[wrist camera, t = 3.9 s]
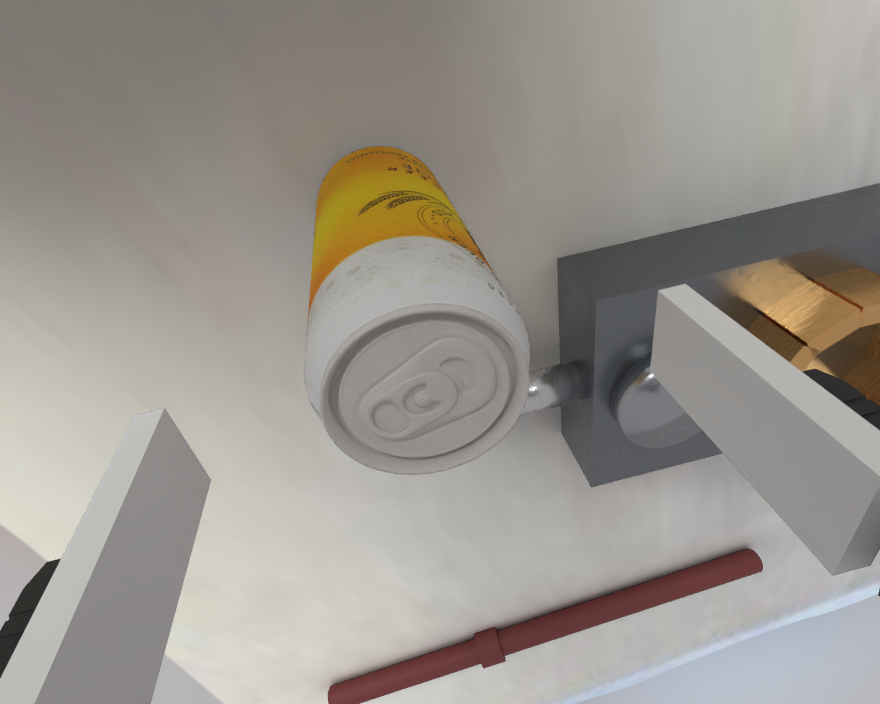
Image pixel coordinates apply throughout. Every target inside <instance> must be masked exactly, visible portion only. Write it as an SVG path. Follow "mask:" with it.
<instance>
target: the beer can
mask: <svg viewBox="0 0 880 704" xmlns="http://www.w3.org/2000/svg"><path fill="white" fill-rule="evenodd" d="M530 357H531V355H530V341H529V335H528V332H527V329H526V326H525V324H524V322H523V320H522V318H521V316H520V314H519V312H518V311H517V309H516V308H515V306H514V304H513V303H512V301H511V300H510V298H509V296H508V295H507V293H506V291H505V290H504V288H503V287H502V285H501V283H500V282H499V280H498V278H497V277H496V275H495V274H494V272H493V270H492V269H491V267H490V266H489V264H488V262H487V261H486V259H485V257H484V256H483V254H482V253H481V251H480V249H479V248H478V246H477V244H476V243H475V241H474V240H473V238H472V236H471V235H470V233H469V232H468V230H467V228H466V227H465V225H464V223H463V222H462V220H461V219H460V217H459V215H458V214H457V212H456V210H455V209H454V207H453V206H452V204H451V202H450V201H449V199H448V198H447V196H446V194H445V193H444V191H443V189H442V188H441V186H440V185H439V183H438V181H437V180H436V178H435V177H434V175H433V174H432V172H431V171H430V170H429V168H428V167H427V166H426V165H425V164H424V163H423V162H421V161H420V160H419V159H418V158H416V157H415V156H413V155H411V154H409V153H408V152H405V151H403V150H400V149H396V148H393V147H385V146H375V147H367V148H363V149H360V150H357V151H354V152H352V153H350V154H348V155H346V156H345V157H344V158H342V159H341V160H339V161H338V162H337V163H336V164H335V165H334V166H333V167H332V168H331V169H330V171H329V172H328V173H327V175H326V176H325V178H324V180H323V182H322V184H321V187H320V190H319V193H318V197H317V206H316V219H315V233H314V246H313V260H312V273H311V286H310V300H309V313H308V326H307V340H306V353H305V366H304V378H305V386H306V391H307V394H308V397H309V400H310V403H311V405H312V406H313V408H314V410H315V412H316V413H317V415H318V416H319V417H320V419H321V420H322V422H323V423H324V426H325V428H326V430H327V432H328V434H329V436H330V437H331V439H332V440H333V441H334V443H335V444H336V445H337V446H338V447H339V448H340V449H341V450H342V451H343V452H344V453H345V454H347V455H348V456H349V457H351V458H352V459H354V460H356V461H357V462H359V463H361V464H363V465H365V466H368V467H370V468H373V469H376V470H380V471H384V472H388V473H395V474H407V475H412V474H428V473H434V472H440V471H444V470H447V469H451V468H454V467H457V466H460V465H462V464H465V463H467V462H469V461H471V460H473V459H475V458H477V457H479V456H481V455H482V454H484V453H485V452H487V451H488V450H490V449H491V448H492V447H494V446H495V445H496V444H497V443H498V442H500V441H501V440H502V439H503V438H504V437H505V436H506V435H507V433H508V432H509V431H510V430H511V429H512V428H513V426H514V425H515V423H516V422H517V420H518V419H519V417H520V415H521V413H522V411H523V409H524V406H525V404H526V401H527V397H528V392H529V366H530Z"/></svg>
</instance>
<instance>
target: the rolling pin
mask: <svg viewBox="0 0 880 704" xmlns="http://www.w3.org/2000/svg"><path fill="white" fill-rule="evenodd" d="M762 570H763V564H762V561H761V559H760V557H759V556H758V554H757V553H756V552H755V551H753V550H751V549H749V548H748V549H745V550H742V551H739V552H736V553H733V554H729V555H726V556H723V557H720V558H717V559H714V560H711V561H708V562H705V563H702V564H699V565H696V566H693V567H690V568H687V569H684V570H681V571H678V572H675V573H672V574H669V575H666V576H663V577H660V578H657V579H654V580H651V581H647V582H644V583H641V584H638V585H635V586H632V587H629V588H626V589H623V590H620V591H617V592H614V593H611V594H608V595H605V596H602V597H599V598H596V599H593V600H590V601H587V602H584V603H581V604H578V605H575V606H572V607H568V608H565V609H562V610H559V611H556V612H553V613H550V614H547V615H544V616H541V617H538V618H535V619H532V620H529V621H526V622H523V623H520V624H517V625H514V626H511V627H508V628H505V629H502V630H499V631H497V630H496V628H495V627H493V628H490V629H487V630H484V631H481V632H478V633H475V634H474V639H471V640H468V641H465V642H462V643H459V644H456V645H453V646H450V647H447V648H444V649H441V650H438V651H435V652H432V653H429V654H426V655H423V656H420V657H417V658H414V659H411V660H407V661H404V662H401V663H398V664H395V665H392V666H389V667H386V668H383V669H380V670H377V671H374V672H371V673H368V674H365V675H362V676H359V677H356V678H353V679H350V680H347V681H344V682H341V683H338V684H335V685H332V686H330V688H329V691H328V703H329V704H360V703H363V702H366V701H369V700H372V699H375V698H378V697H381V696H384V695H387V694H390V693H393V692H396V691H399V690H402V689H405V688H408V687H411V686H414V685H417V684H421V683H424V682H427V681H430V680H433V679H436V678H439V677H442V676H445V675H448V674H451V673H454V672H457V671H460V670H463V669H466V668H469V667H472V666H475V665H478V664H482V666H483V668H486V667H489V666H492V665H495V664H499V663H502V662H505V661H506V660H505V656H506V655H509V654H512V653H515V652H518V651H521V650H524V649H527V648H530V647H533V646H536V645H539V644H542V643H545V642H548V641H551V640H554V639H558V638H561V637H564V636H567V635H570V634H573V633H576V632H579V631H582V630H585V629H588V628H591V627H594V626H597V625H600V624H603V623H606V622H609V621H612V620H615V619H618V618H621V617H625V616H628V615H631V614H634V613H637V612H640V611H643V610H646V609H649V608H652V607H655V606H658V605H661V604H664V603H667V602H670V601H673V600H676V599H679V598H682V597H685V596H688V595H691V594H695V593H698V592H701V591H704V590H707V589H710V588H713V587H716V586H719V585H722V584H725V583H728V582H731V581H734V580H737V579H740V578H743V577H746V576H749V575H752V574H755V573H758V572H762Z"/></svg>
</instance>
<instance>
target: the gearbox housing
mask: <svg viewBox="0 0 880 704" xmlns="http://www.w3.org/2000/svg"><path fill="white" fill-rule="evenodd" d="M682 284H686V285H688V286H689V287H690V288H692V289H693V290H694V291H696V292H697V293H698V294H699V295H701V296H702V297H703V298H705V299H706V300H707V301H709V302H710V303H711V304H713V305H714V306H715V307H717V308H718V309H719V310H721V311H722V312H723V313H725V314H726V315H727V316H729V317H730V318H731V319H733V320H734V321H735V322H737V323H738V324H739V325H741V326H742V327H743V328H745V329H746V330H747V331H749V332H750V333H751V334H752V335H754V336H755V337H756V338H758V339H759V340H760V341H762V342H763V343H764V344H766V345H767V346H768V347H770V348H771V349H772V350H774V351H775V352H776V353H778V354H779V355H780V356H782V357H783V358H784V359H786V360H787V361H788V362H790V363H791V364H792V365H794V366H795V367H796V368H798V369H799V370H800V371H802V372H803V371H807V370H811V369H818V370H820V371H823V372H825V373H828V374H830V375H832V376H835V377H837V378H840V379H842V380H844V381H846V382H847V383H848V384H850V385H851V386H853V387H854V388H855V389H857V390H858V391H860V392H861V393H862V394H864V395H865V396H866V399H867V400H870V399H871V400H872V401H874V402H875V403H877V404H878V405H879V406H880V184H876V185H871V186H867V187H863V188H858V189H854V190H850V191H846V192H841V193H837V194H833V195H828V196H824V197H820V198H816V199H811V200H807V201H803V202H798V203H794V204H790V205H786V206H781V207H777V208H773V209H768V210H764V211H760V212H756V213H751V214H747V215H743V216H738V217H734V218H730V219H726V220H721V221H717V222H713V223H708V224H704V225H700V226H696V227H691V228H687V229H683V230H678V231H674V232H670V233H666V234H661V235H657V236H653V237H648V238H644V239H640V240H636V241H631V242H627V243H623V244H618V245H614V246H610V247H606V248H601V249H597V250H593V251H588V252H584V253H580V254H576V255H571V256H567V257H563V258H558V296H559V335H560V364H558V365H554V366H550V367H546V368H542V369H538V370H534V371H530V372H529V392H528V397H527V401H526V404H525V406H524V409H523V411H522V413H521V415H524V414H528V413H532V412H536V411H540V410H544V409H548V408H552V407H556V406H560V405H561V413H562V435H563V436H564V438H565V440H566V442H567V444H568V446H569V447H570V449H571V451H572V453H573V455H574V457H575V458H576V460H577V462H578V464H579V466H580V468H581V469H582V471H583V473H584V475H585V477H586V479H587V480H588V482H589V484H590V486H591V487H594V486H598V485H602V484H606V483H610V482H614V481H617V480H621V479H625V478H629V477H633V476H637V475H641V474H644V473H648V472H652V471H656V470H660V469H664V468H668V467H671V466H675V465H679V464H683V463H687V462H691V461H695V460H699V459H702V458H706V457H710V456H714V455H718V454H722V451H721V450H720V449H719V448H718V447H717V446H716V445H715V444H714V442H713V441H712V440H711V439H710V438H709V437H708V436H707V435H706V434H705V432H704V431H703V430H702V429H701V428H700V427H699V426H698V425H697V423H696V422H695V421H694V420H693V419H692V418H691V417H690V416H689V415H688V413H687V412H686V411H685V410H684V409H683V408H682V407H681V406H680V404H679V403H678V402H677V401H676V400H675V399H674V398H673V397H672V396H671V394H670V393H669V392H668V391H667V390H666V389H665V388H664V387H663V385H662V384H661V383H660V382H659V381H658V380H657V379H656V378H655V377H654V375H653V374H652V373H651V372H650V366H651V356H652V346H653V336H654V326H655V316H656V306H657V296H658V290H661V289H666V288H670V287H674V286H678V285H682Z"/></svg>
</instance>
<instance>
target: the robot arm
mask: <svg viewBox="0 0 880 704" xmlns="http://www.w3.org/2000/svg"><path fill="white" fill-rule="evenodd" d="M650 372H651V373H652V374H653V375H654V377H655V378H656V379H657V380H658V381H659V382H660V383H661V384H662V385H663V387H664V388H665V389H666V390H667V391H668V392H669V393H670V394H671V396H672V397H673V398H674V399H675V400H676V401H677V402H678V403H679V404H680V406H681V407H682V408H683V409H684V410H685V411H686V412H687V413H688V415H689V416H690V417H691V418H692V419H693V420H694V421H695V422H696V423H697V425H698V426H699V427H700V428H701V429H702V430H703V431H704V432H705V434H706V435H707V436H708V437H709V438H710V439H711V440H712V441H713V442H714V444H715V445H716V446H717V447H718V448H719V449H720V450H721V451H722V453H723V454H724V455H725V456H726V457H727V458H728V459H729V460H730V461H731V463H732V464H733V465H734V466H735V467H736V468H737V469H738V470H739V472H740V473H741V474H742V475H743V476H744V477H745V478H746V479H747V480H748V482H749V483H750V484H751V485H752V486H753V487H754V488H755V489H756V491H757V492H758V493H759V494H760V495H761V496H762V497H763V498H764V499H765V501H766V502H767V503H768V504H769V505H770V506H771V507H772V508H773V510H774V511H775V512H776V513H777V514H778V515H779V516H780V517H781V518H782V520H783V521H784V522H785V523H786V524H787V525H788V526H789V527H790V529H791V530H792V531H793V532H794V533H795V534H796V535H797V536H798V537H799V539H800V540H801V541H802V542H803V543H804V544H805V545H806V546H807V548H808V549H809V550H810V551H811V552H812V553H813V554H814V555H815V556H816V558H817V559H818V560H819V561H820V562H821V563H822V564H823V565H824V567H825V568H826V569H827V570H828V571H829V572H830V573H831V574H832V575H837V574H840V573H844V572H848V571H851V570H855V569H859V568H862V567H866V566H870V565H871V564H872V562H873V560H874V558H875V557H876V555H877V553H878V552H879V550H880V406H879V405H878V404H877V403H875V402H874V401H872V400H871V399H870V400H867V399H866V396H865V395H864V394H862V393H861V392H860V391H858V390H857V389H855V388H854V387H853V386H851V385H850V384H848V383H847V382H846V381H844V380H842V379H840V378H837V377H835V376H832V375H830V374H828V373H825V372H823V371H820V370H818V369H811V370H807V371H803V372H802V371H800V370H799V369H798V368H796V367H795V366H794V365H792V364H791V363H790V362H788V361H787V360H786V359H784V358H783V357H782V356H780V355H779V354H778V353H776V352H775V351H774V350H772V349H771V348H770V347H768V346H767V345H766V344H764V343H763V342H762V341H760V340H759V339H758V338H756V337H755V336H754V335H752V334H751V333H750V332H749V331H747V330H746V329H745V328H743V327H742V326H741V325H739V324H738V323H737V322H735V321H734V320H733V319H731V318H730V317H729V316H727V315H726V314H725V313H723V312H722V311H721V310H719V309H718V308H717V307H715V306H714V305H713V304H711V303H710V302H709V301H707V300H706V299H705V298H703V297H702V296H701V295H699V294H698V293H697V292H696V291H694V290H693V289H692V288H690V287H689V286H688V285H686V284H682V285H678V286H674V287H670V288H666V289H661V290H658V296H657V306H656V316H655V326H654V336H653V346H652V356H651V366H650ZM210 481H211V479H210V477H209V476H208V474H207V473H206V471H205V470H204V468H203V467H202V465H201V463H200V462H199V460H198V459H197V457H196V456H195V454H194V453H193V451H192V450H191V448H190V446H189V445H188V443H187V442H186V440H185V439H184V437H183V436H182V434H181V433H180V431H179V429H178V428H177V426H176V425H175V423H174V422H173V420H172V419H171V417H170V415H169V414H168V412H167V411H166V409H165V408H161V409H157V410H153V411H149V412H145V413H140V414H136V415H134V416H133V418H132V420H131V422H130V424H129V426H128V428H127V430H126V432H125V434H124V436H123V438H122V440H121V442H120V444H119V446H118V448H117V450H116V452H115V454H114V456H113V458H112V460H111V462H110V464H109V465H108V467H107V469H106V471H105V473H104V475H103V477H102V479H101V481H100V483H99V485H98V487H97V489H96V491H95V493H94V495H93V497H92V499H91V501H90V503H89V505H88V507H87V509H86V511H85V513H84V515H83V517H82V519H81V521H80V523H79V525H78V527H77V528H76V530H75V532H74V534H73V536H72V538H71V540H70V542H69V544H68V546H67V548H66V550H65V552H64V554H63V556H62V558H61V559H58V560H54V561H50V562H47V563H46V564H45V565H44V566H43V567H42V568H41V569H40V571H39V572H38V573H37V574H36V575H35V576H34V577H33V578H32V580H31V581H30V582H29V583H28V584H27V585H26V586H25V588H24V589H23V590H22V592H21V594H20V596H19V598H18V600H17V601H16V603H15V605H14V607H13V609H12V611H11V612H10V614H9V620H8V621H6V622H5V623H4V625H3V627H2V629H1V631H0V704H150V703H151V700H152V696H153V693H154V689H155V685H156V682H157V678H158V674H159V670H160V667H161V663H162V659H163V656H164V652H165V648H166V645H167V641H168V637H169V633H170V630H171V626H172V622H173V619H174V615H175V611H176V607H177V604H178V600H179V596H180V593H181V589H182V585H183V581H184V578H185V574H186V570H187V567H188V563H189V559H190V556H191V552H192V548H193V544H194V541H195V537H196V533H197V530H198V526H199V522H200V518H201V515H202V511H203V507H204V504H205V500H206V496H207V492H208V489H209V485H210ZM879 596H880V590H879Z"/></svg>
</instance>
